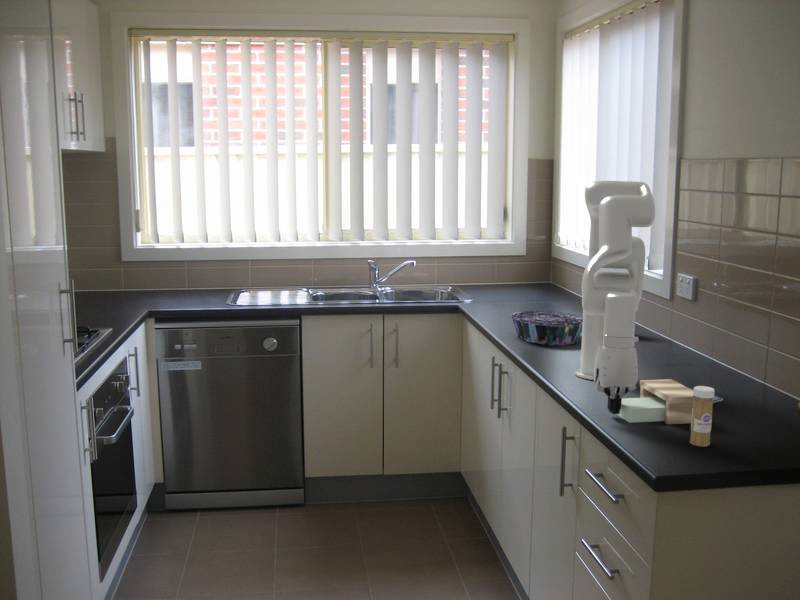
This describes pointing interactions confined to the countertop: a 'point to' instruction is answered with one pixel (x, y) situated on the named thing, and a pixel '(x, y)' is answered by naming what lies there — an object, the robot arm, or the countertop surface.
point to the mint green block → (643, 409)
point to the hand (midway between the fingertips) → (613, 412)
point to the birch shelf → (670, 398)
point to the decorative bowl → (548, 327)
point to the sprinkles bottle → (701, 416)
